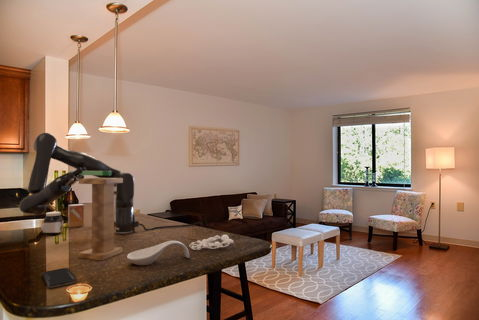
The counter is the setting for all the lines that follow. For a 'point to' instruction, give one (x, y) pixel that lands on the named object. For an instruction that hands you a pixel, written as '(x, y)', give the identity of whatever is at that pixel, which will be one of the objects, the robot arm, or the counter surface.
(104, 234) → the wooden pedestal stand
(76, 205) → the small box
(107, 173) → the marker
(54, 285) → the phone
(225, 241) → the tangled rod sculpture
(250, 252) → the counter surface
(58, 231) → the spread jar
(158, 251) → the spoon rest
